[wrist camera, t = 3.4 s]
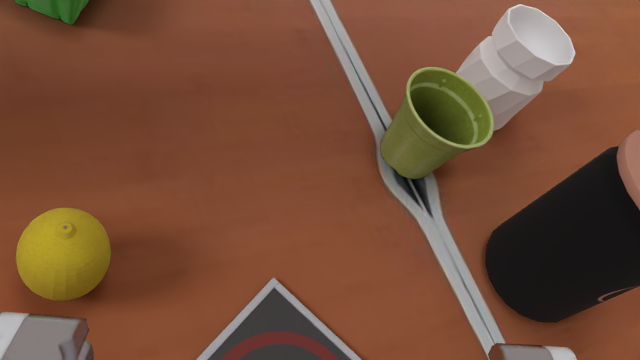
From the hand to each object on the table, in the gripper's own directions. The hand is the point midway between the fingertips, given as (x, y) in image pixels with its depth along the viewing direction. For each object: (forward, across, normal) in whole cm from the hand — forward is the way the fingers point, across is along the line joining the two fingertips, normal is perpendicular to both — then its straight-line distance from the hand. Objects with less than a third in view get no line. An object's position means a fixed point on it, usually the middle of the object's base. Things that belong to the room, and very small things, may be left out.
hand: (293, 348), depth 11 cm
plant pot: (+42, -12, +21) cm, 48 cm away
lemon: (+21, +15, +20) cm, 33 cm away
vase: (+53, -22, +19) cm, 60 cm away
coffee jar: (+32, -25, +28) cm, 50 cm away
